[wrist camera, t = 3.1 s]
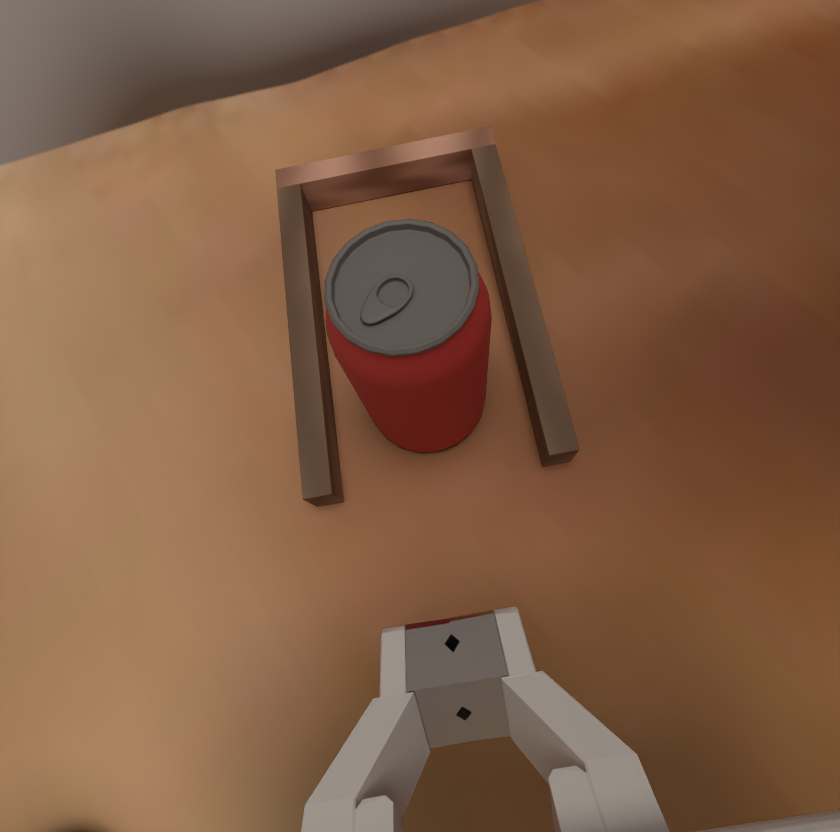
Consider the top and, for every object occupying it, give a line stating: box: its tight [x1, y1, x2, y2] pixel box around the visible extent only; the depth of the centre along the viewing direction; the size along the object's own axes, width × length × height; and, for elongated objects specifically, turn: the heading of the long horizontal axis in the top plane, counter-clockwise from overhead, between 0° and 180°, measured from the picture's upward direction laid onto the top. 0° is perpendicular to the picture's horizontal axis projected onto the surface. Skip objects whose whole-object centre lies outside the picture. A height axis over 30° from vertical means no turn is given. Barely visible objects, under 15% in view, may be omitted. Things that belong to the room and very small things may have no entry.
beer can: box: [325, 219, 492, 452], centre depth 23 cm, size 7×7×12 cm
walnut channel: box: [275, 126, 579, 506], centre depth 30 cm, size 14×22×2 cm, turn 9°
